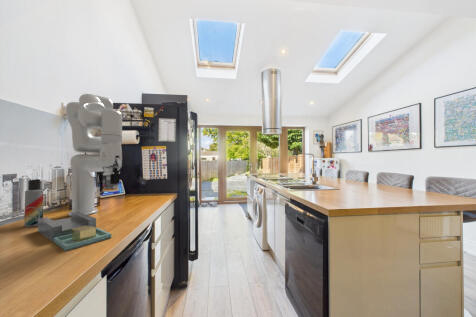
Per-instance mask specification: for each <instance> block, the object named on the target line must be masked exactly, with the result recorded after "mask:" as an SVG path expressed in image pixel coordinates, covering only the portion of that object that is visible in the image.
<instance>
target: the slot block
mask: <svg viewBox="0 0 476 317" xmlns="http://www.w3.org/2000/svg"><path fill="white" fill-rule="evenodd" d="M82 226H89V227H90V226H93V227H95V228H97V218H96V217H94V216H90V215H86V214H83V213H80V212H73V213H71V216H70V217H66V218H61V219H56V220H55V219H54V220H53V219H51V218H49V217H47V216H43V218H38V226H37V232H38V233H40V234H41V235H43V236H44V237H45V238H47V239H48V240H49V241H50V242H53V239H54V238H55V237H60V236H64V235H68V234H72V229H73V228H78V227H82ZM53 243H54V242H53Z"/></svg>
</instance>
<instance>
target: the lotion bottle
mask: <svg viewBox="0 0 476 317" xmlns="http://www.w3.org/2000/svg"><path fill="white" fill-rule="evenodd" d="M41 182H42V180H41V179H39V178H36V179H35V178H34V179H29V180H28V181H27V190H25V191H24V211H23V212H24V218H23V219H24V220H23V221H24V222H23V223H24V227H25V228H31V227H32V228H33V227H38V218H44V189H41V187H42V186H41Z"/></svg>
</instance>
